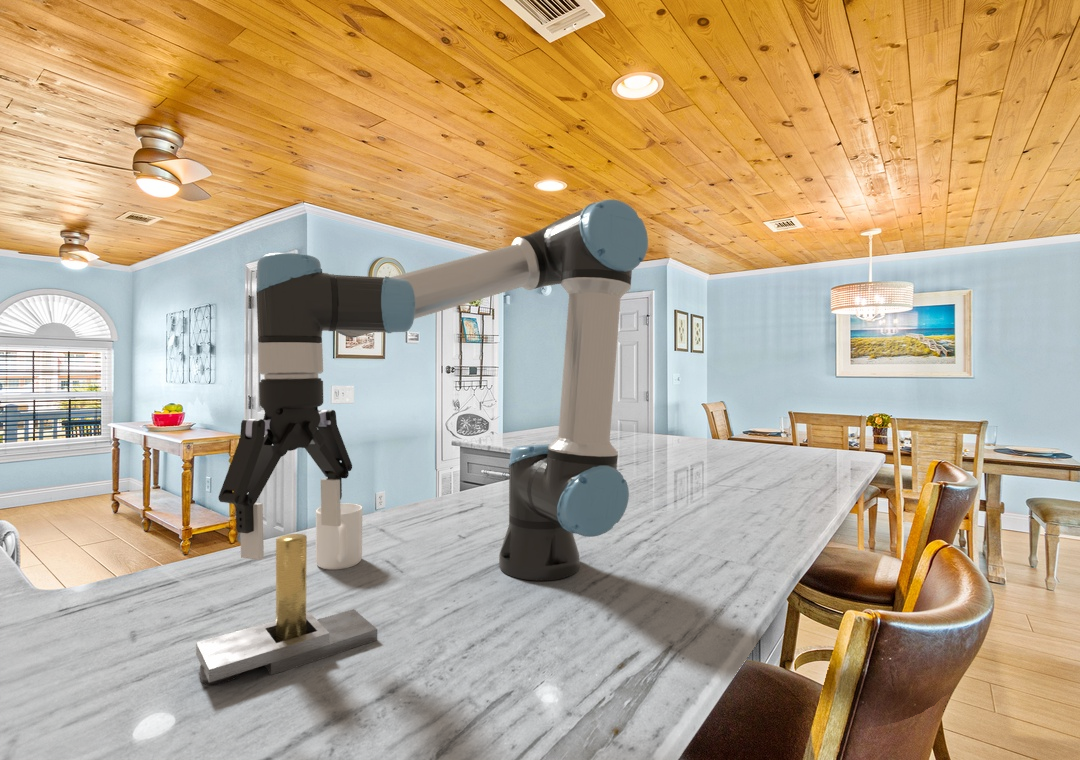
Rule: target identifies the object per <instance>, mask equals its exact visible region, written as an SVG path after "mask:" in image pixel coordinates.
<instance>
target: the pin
mask: <svg viewBox="0 0 1080 760" xmlns="http://www.w3.org/2000/svg"><path fill="white" fill-rule="evenodd" d="M307 537H308V536H307V535H305V534H303V533H292V534H285V535H281V536H279V537H277V538H276V539H275V571H276V572H275V621H276V643H279V642H282V641H286V640H289V639H292V638H296V637H299V636H302V635H306V612H307V560H308V559H307V554H308V553H307V549H308V548H307V546H308V545H307V542H308V541H307Z"/></svg>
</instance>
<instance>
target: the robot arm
mask: <svg viewBox="0 0 1080 760" xmlns="http://www.w3.org/2000/svg"><path fill="white" fill-rule="evenodd" d="M648 248H649V237H648V232H647V229H646V225H645V224H644V221H643V219H642V217H641V218H640V217H639V215H638V213H637V211H636V210H635V209H634V208H633V207H632V206H630V205H629V204H627V203H626V202H624V201H621V200H618V199H604V200H601V201H597V202H592V203H590V204H588V205H587V206H585V207H584V208H581V209H579V210H578V211H575V212H573V213H571V214H569V215H567V216H565V217H561V218H560V219H558V220H555V221H554V222H552V223H550V224H548V225H547V226H545V227H543V228H540V229H539V230H536V231H534V232H532V233H530V234H526V235H523V236H519V237H516V238H514V239H513V241H512V242H511V244H510V245H509V246H504V247H501V248H497V249H494V250H493V249H492V250H488V251H485V252H481V253H478V254H473V255H471V256H466V257H462V258H458V259H454V260H451V261H447V262H444V263H439V264H434V265H432V266H428V267H424V268H421V269H417V270H413V271H409V272H405V273H401V274H398V275H393V276H384V277H382V276H380V277H378V276H363V275H362V276H361V275H346V274H345V275H344V274H343V275H342V274H333V273H332V274H331V273H328V272H323V268H322V266H321V265H322V264H321V262H320V260H319V259H318V258H317V257H315V256H312V255H308V254H301V253H295V252H274V253H273V252H271V253H268V254H267V253H266V254H265V255H263V256H261V257H260V259H258V260H257V264H256V290H255V291H256V292H255V294H256V317H257V341H258V343H257V345H258V349H257V350H258V373H259V374H260V375H263V376H264V378H263V379H262V378H261V379H260V381H259V383H258V389H259V390H258V393H259V394H258V395H259V406H260V407H261V408H262V409H263V410H264V416H263V419H262V418H243V419H242V420H241V423H240V435H239V436H240V437H239V440H238V442H237V446H236V448H235V451H234V454H233V457H232V458H231V462H230V464H229V468H228V469H227V473H226V476H225V478H224V480H223V483H222V487H221V489H220V492H219V494H218V501H219V502H220V503H225V504H231V505H233V506H234V507H235V524H236V525H235V530H236V531H237V533H240V535H239V536H240V537H239V538H240V558H243V559H248V560H249V559H250V560H254V561H255V560H256V561H260V560H262V559H264V558H265V552H264V549H265V548H264V547H265V545H264V517H263V515H264V513H263V511H264V510H263V509H264V508H263V503H261V502H257V501H258V500H259V498H260V496H261V494H262V492H263V490H264V488H265V487H266V484H267V483H268V481H269V479H270V477H271V476H272V474H273V472H274V470H275V468H276V466H277V465H278V464H279V461H280V460H281V458H282V457H283V456H286V455H287V453H288V452H290V451H295V450H297V449H300V448H302V449H305V451H306V452H307V453H308V454H309V456H310V458H311V459H312V460H313V461H314V463H315V465H316V466H317V467H318V468H319V470H321V472H322V473H323V474H324V476H325V477H323V478H320V507H321V522H322V525H327V526H336V527H338V526H340V525H341V509H340V504H341V500H342V497H343V495H342V494H343V493H342V491H343V490H342V488H343V487H342V484H343V483H342V479H347V478H348V477H349V474H350V473H349V472H350V471H352V470H353V463H352V461H351V458H350V456H349V453H348V450H347V447H346V445H345V442H344V439H343V438H342V435H341V432H340V430H339V427H338V422H337V413H336V411H335V410H334V409H318V408H320V407H322V405H323V404H324V381H323V380H322V377H321V378H320V377H319V374H322V373H323V372H324V360H323V359H324V357H323V356H324V354H323V337H322V336H323V331H324V332H325V331H326V332H327V331H328V332H336V333H338V334H340V335H342V336H345V337H347V338H358V337H361V336H364V335H367V334H372V333H386V334H392V333H405V332H408V331H409V330H410V329H411V328H412V327H413V324H414V322H415V321H414V320H415V319H418V318H422V317H426V316H428V315H432V314H435V313H439V312H443V311H446V310H449V309H453V308H456V307H459V306H463V305H466V304H469V303H473V302H476V301H478V300H483V299H485V298H490V297H493V296H495V295H499V294H502V293H505V292H510V291H512V290H516V289H519V288H520V289H521V288H524V289H525V290H527V291H532V290H535V289H539V288H543V287H547V286H554V285H561V286H562V288H563V289H564V290H565V291H566V292H567V294H568V307H567V317H566V318H567V319H566V329H565V330H566V331H565V332H566V333H565V343H564V355H563V356H564V358H563V367H562V368H563V369H562V384H561V396H560V407H559V420H558V421H559V423H558V433H557V438H556V439H555V440H554V441H553V442H552V443H550V444H549V443H548V444H547V443H546V444H545V443H544V444H531V445H530V444H529V445H528V444H527V445H519V446H515V447H513V448H512V449H511V450H510V455H509V463H508V468H509V470H508V473H509V475H508V476H509V477H508V479H509V480H508V481H509V485H508V486H509V487H508V490H509V491H508V493H509V494H508V495H509V496H508V497H509V498H508V501H509V502H508V503H509V504H508V515H509V516H508V528H507V531H506V533H505V537H504V538H503V542H502V545H501V548H500V552H499V555H498V556H499V557H498V558H499V559H498V560H499V563H498V566H499V569H500V571H502V572H503V573H504V574H506V575H507V576H510V577H513V578H516V579H519V580H520V579H521V580H525V581H542V582H543V581H555V580H560V579H564V578H568V577H571V576H572V575H575V574H576V573H577V572H578V571H579V570H580V553H579V550H578V547H577V546H578V545H577V542H576V539H575V536H574V534H577V535H578V536H583V537H587V538H590V537H599V536H602V535H603V534H604V535H605V534H606V533H607V532H610V531H612V529H613V527H614V526H615V525H616V524H618V523H619V522H620V521H621V519H622V518H623V516H624V514H625V512H626V510H627V508H628V504H629V497H630V496H629V495H630V492H629V486H628V482H627V480H626V479H625V478H624V475H623V474H622V473H621V471H619V470H618V469H617V468H618V459H619V458H618V456H619V455H618V454H619V453H618V450H617V449H616V448H615V447H614V446H613V445H612V443H611V440H610V439H611V426H612V425H611V424H612V415H613V414H612V413H613V401H614V388H615V377H616V376H615V375H616V363H617V362H616V361H617V349H618V348H617V347H618V338H619V337H618V335H619V324H620V323H619V321H620V311H621V309H620V308H621V299H622V297H623V296H624V295H625V294H627V292H629V290H631V288H632V275H633V274H632V273H633V270H635V269H636V268H637V267H638V266H639V265H640V264H641V262H643V261H644V259H645V258H646V255H647V251H648Z"/></svg>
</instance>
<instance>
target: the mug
mask: <svg viewBox="0 0 1080 760" xmlns="http://www.w3.org/2000/svg"><path fill="white" fill-rule="evenodd" d="M340 509H341V525H340V526H338V527H336V526H327V525H322V522H321V506H320V507H318V508H317V509H316V510H315V563H316V565H317V566H318V567H319V568H320V569H323V570H328V571H329V570H330V571H331V570H333V571H335V570H336V571H337V570H344V569H348V568H352V567H355V566H356V565H358V564H359V563H360V562H361V560H362V557H363V506H362V505H360V504H356V503H344V502H343V503H341V502H340Z"/></svg>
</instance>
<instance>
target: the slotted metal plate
mask: <svg viewBox="0 0 1080 760" xmlns="http://www.w3.org/2000/svg"><path fill="white" fill-rule="evenodd" d="M376 641H378V629H377V628H376V627H375V626H374V625H373V624H372V623H371V622H370V621H368V619H366V618H365V617H364V616H362V614H360V613H359V612H358V611H357V610H355V608H354V609H350V610H346V611H343V612H339V613H336V614H332V615H329V616H325V617H322V618H319V619H318V618H317V619H316V617H315V616H314V615H313V614H311V613H310V611H306V635H302V636H299V637H296V638H292V639H289V640H286V641H282V642H279V643H276V620H273V621H269V622H266V623H262V624H258V625H253V626H250V627H248V628H246V627H245V628H244V629H239V630H236V631H231V632H228V633H225V634H222V635H217V636H213V637H211V638H207V639H203V640H199V641H196V642H195V643H196V644H195V645H196V646H195V652H196V653H195V655H196V657H197V659H198V661H199V663H200V667H199V677H200V678H199V680H200V683H202V684H203V685H208V686H215V685H221V684H225V683H228V682H230V681H232V680H234V679H236V678H238V677H239V676H240V675H241V674H242V673H244V672H248V671H251V670H255V669H257V668H259V667H263V666H264V667H265V669H266V670H267V672H268V673H269V675H270V676H273V675H277V674H279V673H282V672H285V671H288V670H292V669H294V668H297V667H300V666H301V667H302V666H304V665H306V664H309V663H313V662H315V661H318V660H321V659H324V658H327V657H331V656H333V655H337V654H339V653H342V652H345V651H349V650H352V649H355V648H357V647H360V646H363V645H367V644H370V643H372V642H376Z"/></svg>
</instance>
